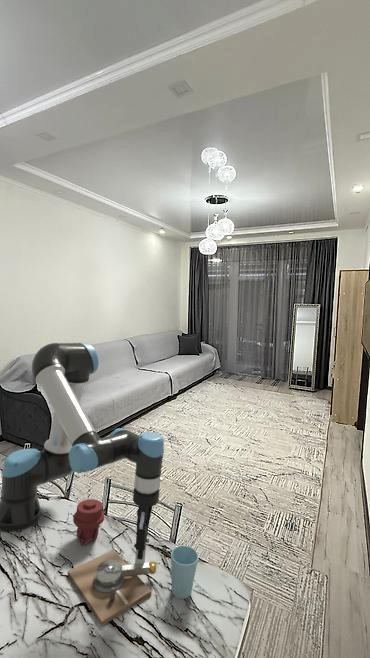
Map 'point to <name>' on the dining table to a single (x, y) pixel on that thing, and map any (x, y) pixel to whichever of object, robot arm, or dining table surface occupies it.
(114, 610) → the post board
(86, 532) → the mechanical component
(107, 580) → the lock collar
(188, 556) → the cup
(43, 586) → the dining table surface
